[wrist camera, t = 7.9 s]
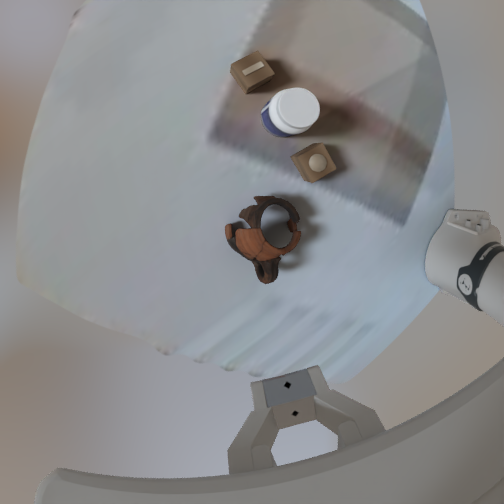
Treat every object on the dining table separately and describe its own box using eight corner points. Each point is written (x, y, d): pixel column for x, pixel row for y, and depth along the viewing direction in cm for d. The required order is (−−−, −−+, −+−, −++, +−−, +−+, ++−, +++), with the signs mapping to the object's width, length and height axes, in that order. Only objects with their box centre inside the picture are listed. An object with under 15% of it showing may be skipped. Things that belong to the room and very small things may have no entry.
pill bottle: (295, 141, 37) (319, 138, 28) (256, 133, 36) (268, 126, 27) (302, 104, 36) (328, 91, 26) (263, 95, 35) (278, 77, 25)
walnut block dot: (313, 143, 38) (323, 142, 34) (326, 166, 39) (337, 168, 35) (290, 156, 38) (298, 157, 34) (303, 180, 39) (312, 183, 36)
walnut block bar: (254, 59, 33) (258, 50, 29) (269, 81, 34) (275, 73, 30) (230, 72, 33) (231, 63, 29) (245, 94, 34) (248, 87, 30)
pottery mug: (214, 207, 40) (241, 196, 33) (268, 198, 44) (301, 188, 37) (232, 288, 41) (262, 294, 34) (282, 271, 46) (317, 273, 39)
